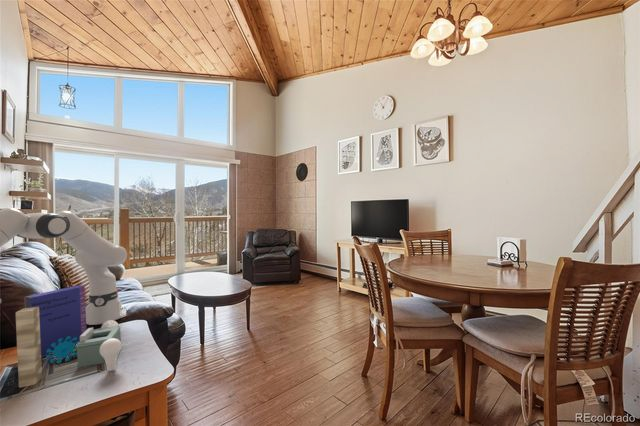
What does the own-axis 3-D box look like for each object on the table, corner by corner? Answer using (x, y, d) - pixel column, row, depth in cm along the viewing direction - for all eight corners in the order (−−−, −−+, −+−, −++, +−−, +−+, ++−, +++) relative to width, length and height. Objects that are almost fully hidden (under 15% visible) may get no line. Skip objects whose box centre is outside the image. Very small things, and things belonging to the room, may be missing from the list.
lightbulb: (124, 370, 96) (122, 338, 96) (101, 378, 92) (100, 345, 92) (120, 364, 101) (119, 333, 101) (99, 371, 96) (98, 339, 96)
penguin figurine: (116, 316, 125) (124, 325, 117) (117, 335, 125) (125, 345, 118) (99, 321, 120) (106, 330, 112) (99, 340, 121) (106, 351, 113)
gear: (39, 364, 100) (52, 336, 107) (44, 370, 103) (55, 343, 110) (78, 360, 104) (88, 334, 111) (81, 366, 108) (90, 340, 115)
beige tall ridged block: (26, 380, 92) (23, 308, 92) (42, 377, 94) (38, 306, 94) (18, 387, 89) (15, 312, 89) (35, 384, 90) (32, 310, 90)
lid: (89, 334, 110) (89, 326, 110) (120, 329, 114) (119, 321, 114) (77, 347, 99) (76, 338, 99) (111, 341, 103) (110, 333, 103)
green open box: (90, 352, 110) (89, 335, 110) (120, 347, 114) (120, 330, 114) (77, 367, 99) (77, 348, 99) (111, 361, 103) (111, 342, 103)
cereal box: (81, 338, 124) (78, 284, 124) (87, 340, 122) (84, 285, 122) (27, 357, 108) (24, 296, 108) (32, 360, 106) (29, 297, 106)
